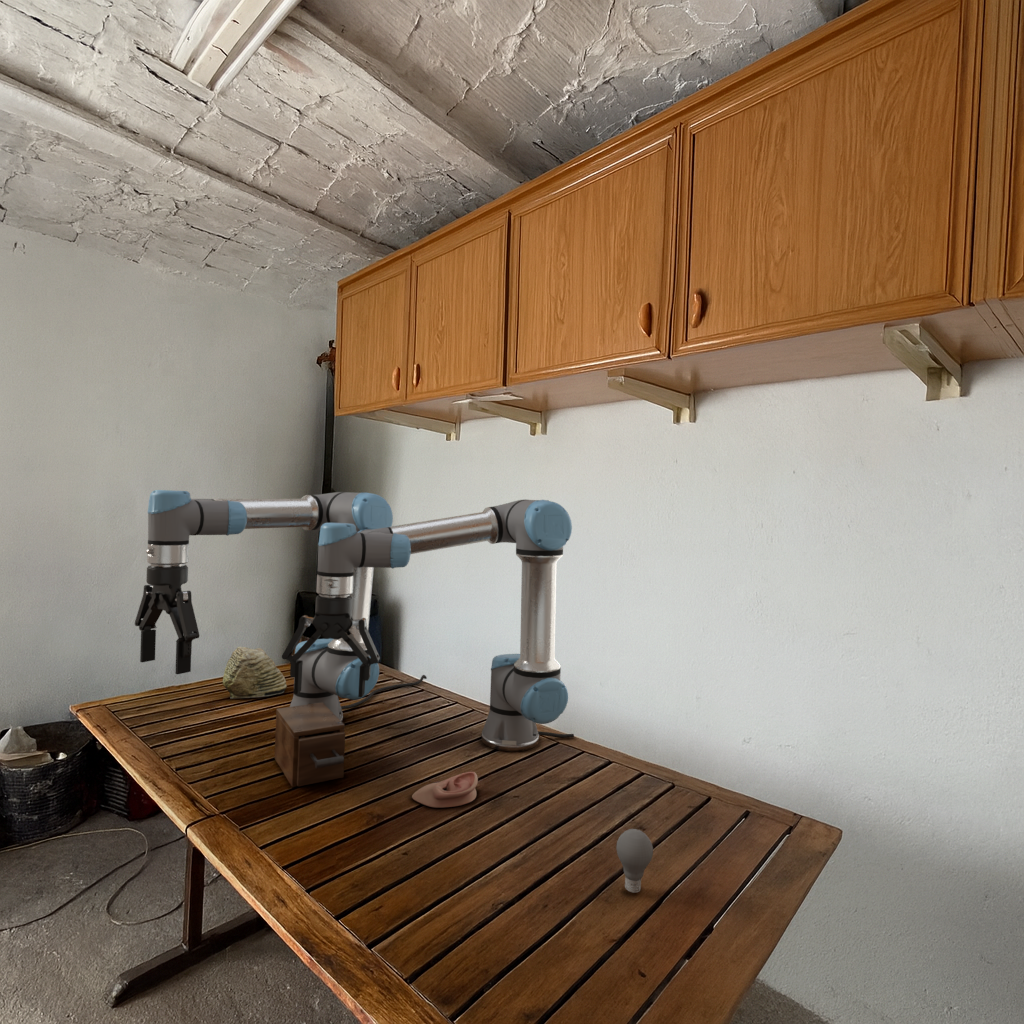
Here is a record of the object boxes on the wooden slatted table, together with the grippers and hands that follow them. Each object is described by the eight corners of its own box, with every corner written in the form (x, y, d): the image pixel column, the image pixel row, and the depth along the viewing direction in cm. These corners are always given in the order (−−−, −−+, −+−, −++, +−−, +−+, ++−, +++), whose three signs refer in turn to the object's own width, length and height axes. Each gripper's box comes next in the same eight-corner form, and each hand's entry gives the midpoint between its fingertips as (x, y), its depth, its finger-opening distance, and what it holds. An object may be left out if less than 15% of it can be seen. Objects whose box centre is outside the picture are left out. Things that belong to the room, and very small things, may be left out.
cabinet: (342, 777, 143) (344, 724, 143) (292, 787, 137) (294, 732, 137) (320, 750, 158) (322, 702, 158) (274, 758, 152) (276, 708, 152)
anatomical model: (407, 784, 132) (425, 763, 143) (406, 803, 132) (424, 780, 143) (468, 793, 129) (482, 770, 140) (467, 812, 129) (481, 788, 141)
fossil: (218, 695, 195) (220, 647, 195) (278, 685, 208) (279, 640, 207) (228, 703, 189) (230, 653, 188) (289, 692, 201) (290, 645, 201)
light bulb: (610, 879, 108) (613, 822, 108) (644, 879, 109) (647, 822, 109) (619, 902, 102) (622, 840, 102) (655, 901, 103) (658, 840, 103)
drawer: (352, 788, 136) (354, 742, 136) (305, 798, 131) (307, 750, 130) (323, 752, 154) (324, 711, 154) (280, 759, 149) (282, 717, 149)
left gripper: (118, 560, 134) (115, 659, 135) (183, 571, 121) (180, 682, 121) (154, 558, 141) (151, 653, 141) (220, 569, 127) (216, 674, 128)
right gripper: (269, 594, 131) (264, 696, 131) (390, 600, 132) (385, 701, 132) (281, 589, 139) (276, 686, 139) (395, 595, 139) (390, 691, 140)
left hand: (164, 666), depth 131 cm, fingers open, 13 cm apart
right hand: (329, 693), depth 136 cm, fingers open, 13 cm apart
